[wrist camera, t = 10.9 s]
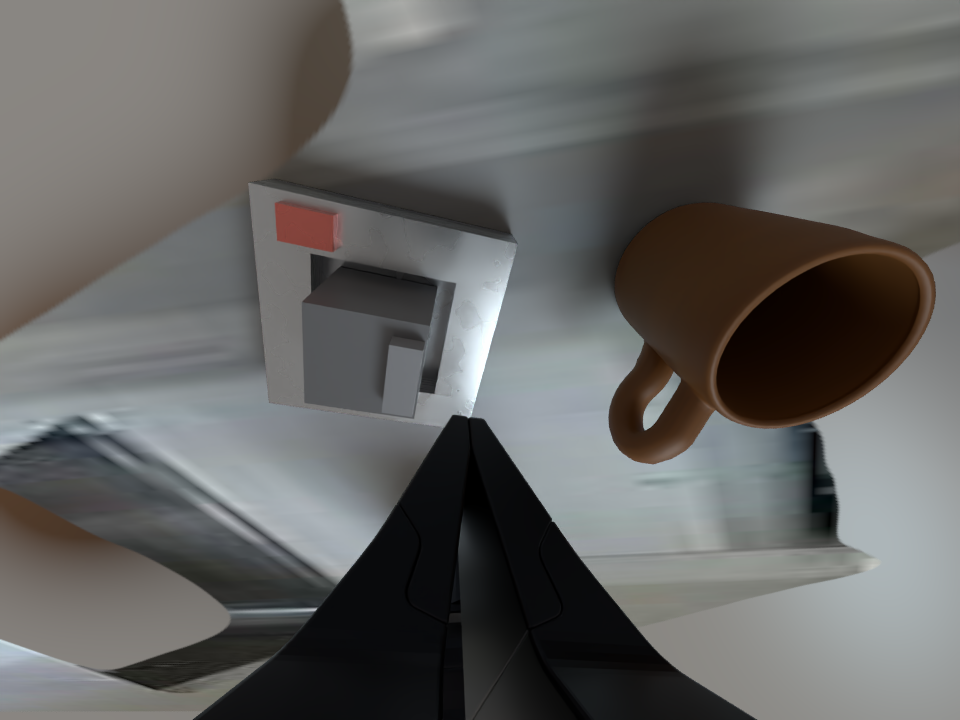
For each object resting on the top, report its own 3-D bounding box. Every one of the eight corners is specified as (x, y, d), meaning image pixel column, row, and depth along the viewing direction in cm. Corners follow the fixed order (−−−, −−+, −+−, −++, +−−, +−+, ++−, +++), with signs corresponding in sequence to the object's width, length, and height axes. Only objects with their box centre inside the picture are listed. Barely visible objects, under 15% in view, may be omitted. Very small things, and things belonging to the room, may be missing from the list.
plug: (423, 366, 22) (411, 430, 17) (337, 351, 21) (297, 413, 16) (437, 287, 19) (428, 334, 14) (339, 266, 18) (293, 309, 13)
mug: (617, 396, 25) (692, 515, 17) (534, 343, 22) (575, 452, 14) (771, 253, 20) (981, 323, 12) (687, 166, 17) (880, 179, 9)
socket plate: (466, 407, 25) (466, 437, 22) (286, 380, 23) (264, 409, 20) (511, 234, 19) (519, 247, 16) (274, 178, 17) (240, 183, 14)
